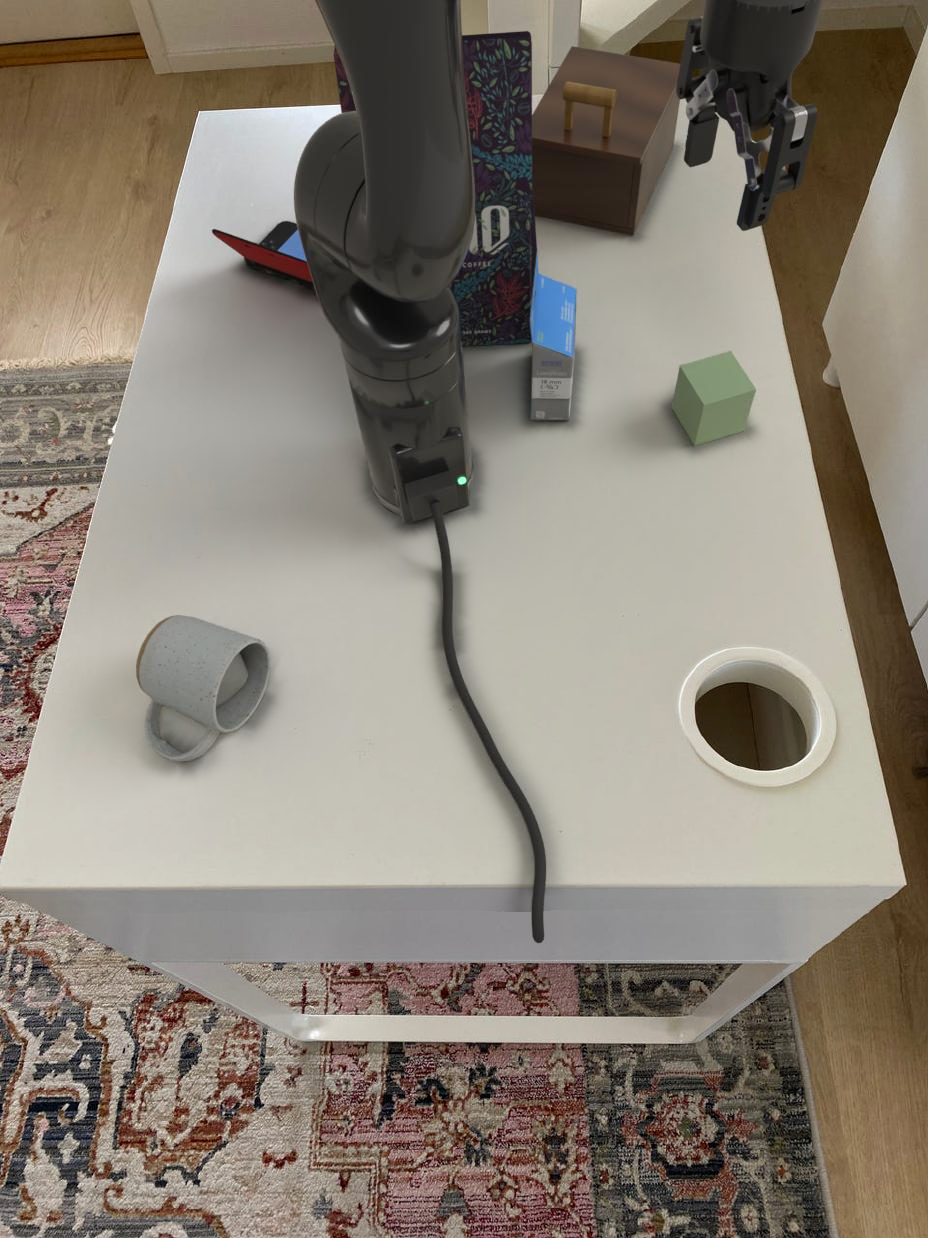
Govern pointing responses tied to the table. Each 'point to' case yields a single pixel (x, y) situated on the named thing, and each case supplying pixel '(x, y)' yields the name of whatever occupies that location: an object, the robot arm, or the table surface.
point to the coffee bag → (494, 188)
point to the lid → (604, 104)
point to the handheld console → (274, 253)
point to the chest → (601, 182)
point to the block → (713, 398)
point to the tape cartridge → (552, 347)
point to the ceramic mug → (200, 678)
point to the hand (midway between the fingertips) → (723, 193)
